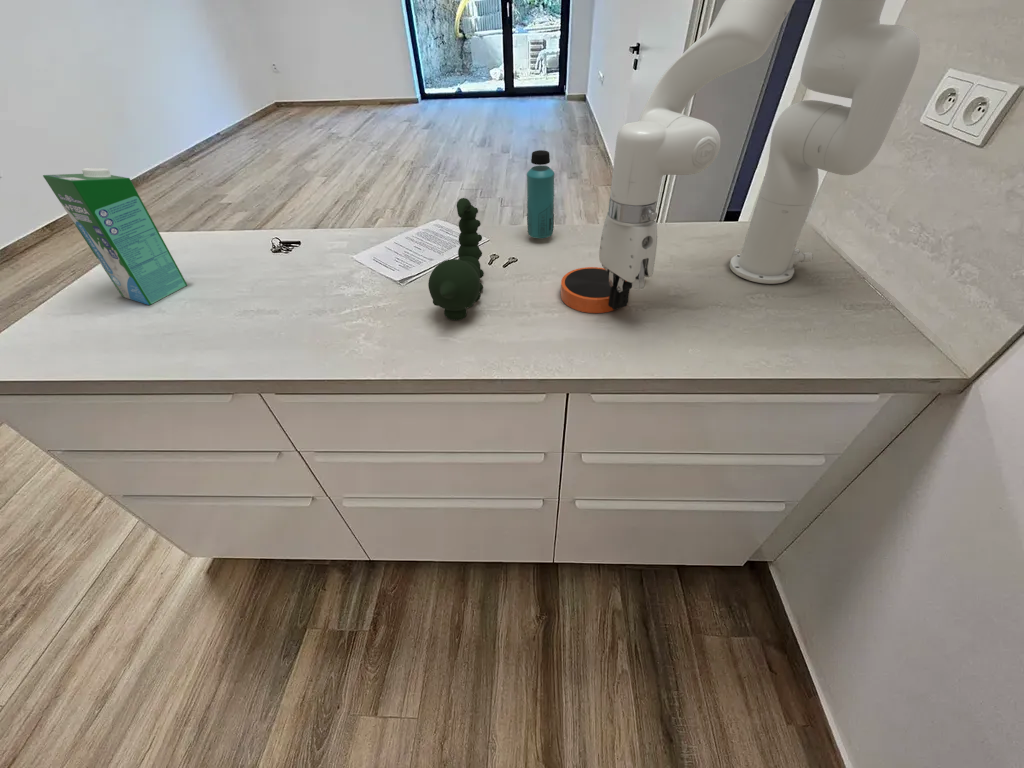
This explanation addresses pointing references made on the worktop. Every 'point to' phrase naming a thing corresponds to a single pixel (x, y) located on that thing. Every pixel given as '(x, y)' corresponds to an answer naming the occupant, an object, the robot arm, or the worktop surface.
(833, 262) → the worktop surface
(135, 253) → the milk carton
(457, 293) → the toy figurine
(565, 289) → the pan
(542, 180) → the beverage bottle
